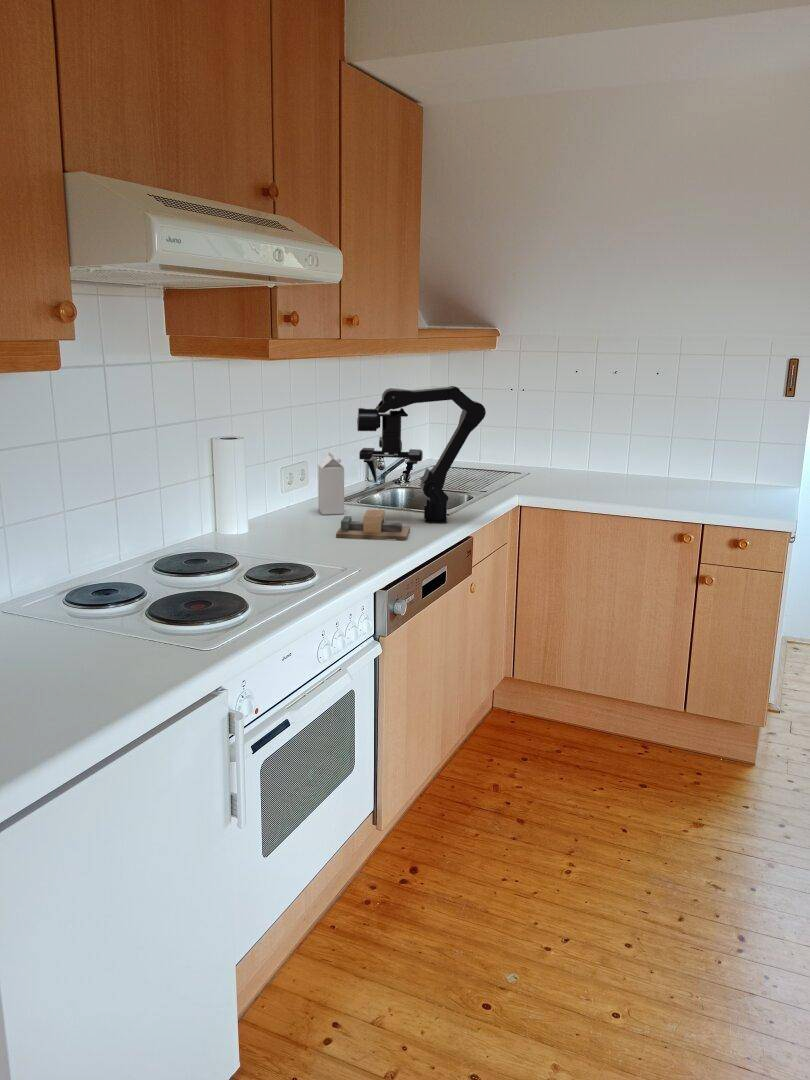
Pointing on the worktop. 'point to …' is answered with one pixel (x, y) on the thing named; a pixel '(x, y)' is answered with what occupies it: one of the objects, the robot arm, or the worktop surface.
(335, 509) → the milk carton
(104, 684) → the worktop surface
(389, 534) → the rail board
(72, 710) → the worktop surface
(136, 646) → the worktop surface
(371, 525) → the block
